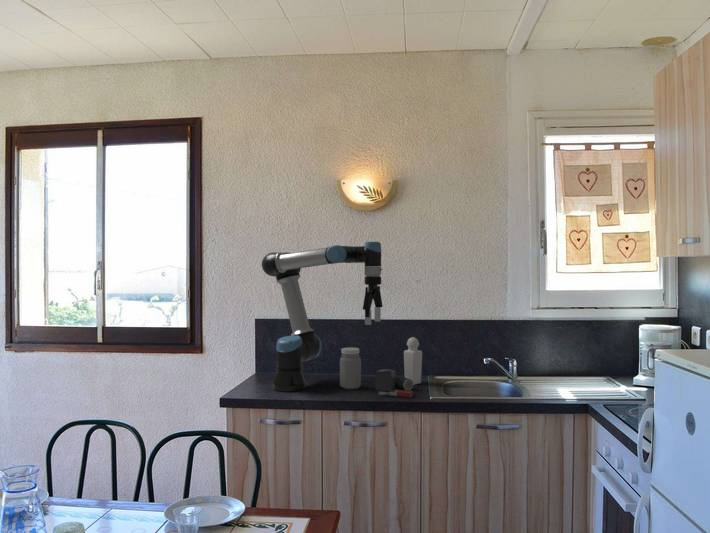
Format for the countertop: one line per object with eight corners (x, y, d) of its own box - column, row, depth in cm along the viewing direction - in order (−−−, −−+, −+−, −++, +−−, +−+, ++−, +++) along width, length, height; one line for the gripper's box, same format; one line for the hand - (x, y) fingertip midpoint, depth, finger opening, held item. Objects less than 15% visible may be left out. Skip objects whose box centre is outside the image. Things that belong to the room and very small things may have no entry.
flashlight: (383, 385, 257) (383, 373, 257) (392, 383, 260) (392, 372, 260) (404, 391, 244) (404, 379, 244) (413, 389, 247) (413, 378, 247)
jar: (339, 389, 246) (339, 350, 246) (340, 385, 256) (340, 347, 256) (361, 389, 246) (361, 350, 246) (360, 385, 256) (360, 347, 256)
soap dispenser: (412, 380, 265) (412, 336, 265) (422, 383, 260) (422, 337, 260) (403, 382, 260) (403, 337, 260) (413, 385, 256) (413, 338, 255)
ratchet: (376, 395, 236) (376, 380, 236) (380, 392, 242) (380, 377, 242) (409, 398, 231) (409, 383, 231) (413, 395, 237) (413, 380, 237)
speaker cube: (375, 390, 236) (375, 370, 236) (380, 387, 242) (380, 368, 243) (390, 391, 233) (391, 371, 234) (395, 388, 240) (395, 369, 240)
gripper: (372, 276, 231) (372, 326, 231) (388, 275, 254) (388, 320, 254) (355, 276, 233) (355, 325, 233) (373, 275, 257) (373, 319, 257)
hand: (372, 323), depth 244 cm, fingers open, 13 cm apart
